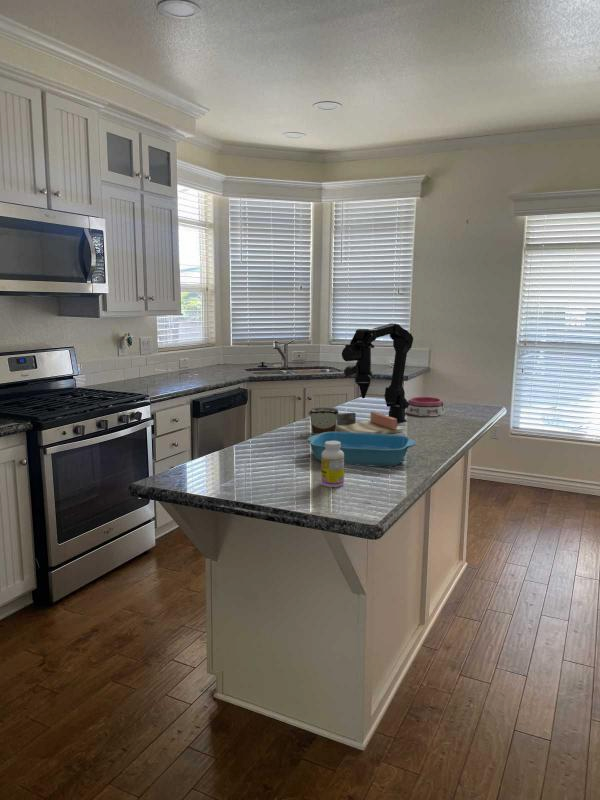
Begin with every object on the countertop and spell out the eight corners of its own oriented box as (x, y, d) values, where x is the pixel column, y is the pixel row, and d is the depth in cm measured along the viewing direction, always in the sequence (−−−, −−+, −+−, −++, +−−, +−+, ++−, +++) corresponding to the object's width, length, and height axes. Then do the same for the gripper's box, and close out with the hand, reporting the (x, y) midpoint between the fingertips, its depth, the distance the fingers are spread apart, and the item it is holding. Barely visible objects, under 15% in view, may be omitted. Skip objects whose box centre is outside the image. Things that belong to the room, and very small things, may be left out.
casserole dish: (299, 463, 198) (299, 442, 197) (317, 447, 219) (317, 428, 218) (410, 472, 188) (411, 450, 187) (417, 455, 209) (418, 435, 208)
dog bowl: (444, 417, 273) (444, 403, 272) (403, 415, 278) (403, 401, 277) (445, 410, 291) (446, 397, 290) (407, 409, 296) (408, 395, 295)
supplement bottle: (320, 481, 178) (320, 439, 176) (341, 480, 178) (342, 439, 176) (322, 488, 171) (322, 445, 169) (345, 487, 172) (345, 444, 170)
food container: (339, 431, 246) (339, 407, 244) (338, 434, 240) (339, 410, 238) (309, 430, 247) (309, 406, 246) (308, 433, 241) (308, 409, 240)
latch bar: (369, 421, 256) (369, 411, 256) (374, 420, 257) (374, 411, 257) (391, 429, 241) (392, 418, 240) (397, 428, 242) (397, 418, 241)
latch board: (376, 423, 261) (376, 409, 260) (402, 432, 243) (402, 417, 242) (332, 427, 252) (332, 414, 251) (356, 437, 234) (356, 422, 233)
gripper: (346, 356, 257) (346, 392, 260) (342, 362, 239) (342, 400, 242) (372, 356, 255) (372, 392, 258) (370, 362, 237) (370, 400, 240)
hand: (363, 396), depth 250 cm, fingers open, 9 cm apart
